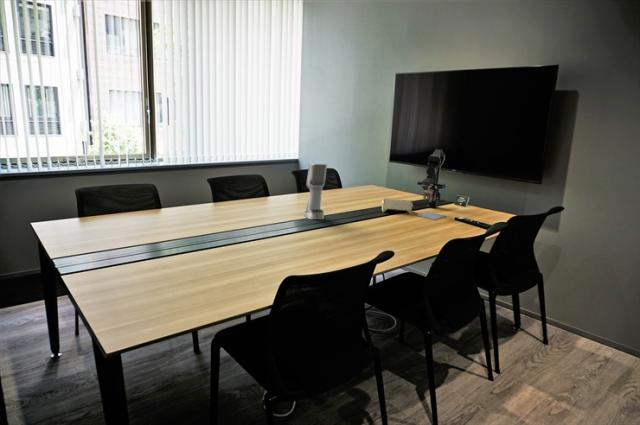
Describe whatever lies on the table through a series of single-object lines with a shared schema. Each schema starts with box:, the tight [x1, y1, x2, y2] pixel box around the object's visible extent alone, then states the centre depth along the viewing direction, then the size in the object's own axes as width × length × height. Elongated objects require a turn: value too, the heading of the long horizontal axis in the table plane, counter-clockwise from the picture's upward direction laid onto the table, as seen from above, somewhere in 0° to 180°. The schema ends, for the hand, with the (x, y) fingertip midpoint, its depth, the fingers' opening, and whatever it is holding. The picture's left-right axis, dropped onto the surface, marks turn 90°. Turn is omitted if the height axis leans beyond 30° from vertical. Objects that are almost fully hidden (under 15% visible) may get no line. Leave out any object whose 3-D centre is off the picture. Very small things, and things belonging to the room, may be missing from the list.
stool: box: [422, 188, 436, 202], centre depth 288 cm, size 6×6×7 cm
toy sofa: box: [381, 197, 414, 215], centre depth 293 cm, size 21×9×10 cm, turn 85°
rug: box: [415, 211, 446, 221], centre depth 288 cm, size 16×14×1 cm
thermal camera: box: [303, 163, 328, 221], centre depth 265 cm, size 12×13×35 cm
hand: (429, 196), depth 289 cm, fingers closed on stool, 6 cm apart
